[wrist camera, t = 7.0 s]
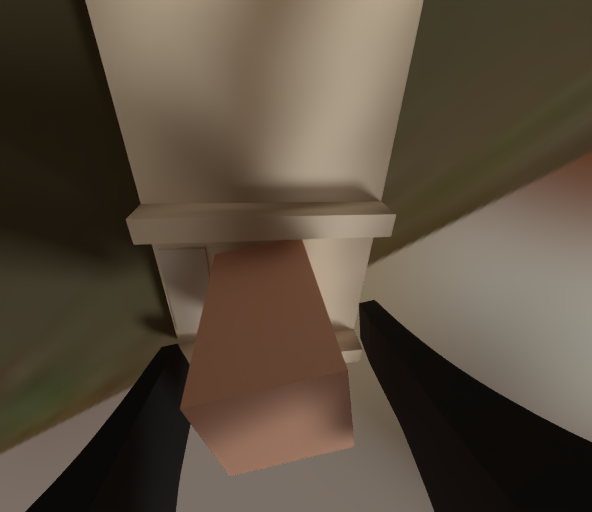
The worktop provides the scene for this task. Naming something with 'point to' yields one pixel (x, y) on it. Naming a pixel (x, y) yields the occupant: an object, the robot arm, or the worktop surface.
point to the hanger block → (267, 363)
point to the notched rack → (258, 134)
